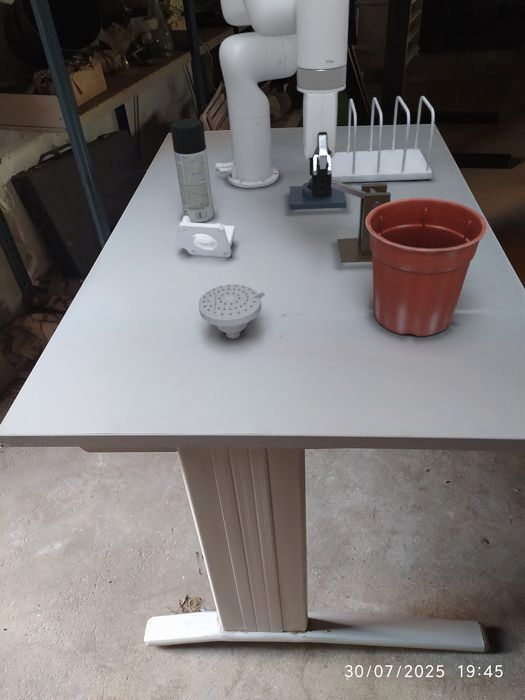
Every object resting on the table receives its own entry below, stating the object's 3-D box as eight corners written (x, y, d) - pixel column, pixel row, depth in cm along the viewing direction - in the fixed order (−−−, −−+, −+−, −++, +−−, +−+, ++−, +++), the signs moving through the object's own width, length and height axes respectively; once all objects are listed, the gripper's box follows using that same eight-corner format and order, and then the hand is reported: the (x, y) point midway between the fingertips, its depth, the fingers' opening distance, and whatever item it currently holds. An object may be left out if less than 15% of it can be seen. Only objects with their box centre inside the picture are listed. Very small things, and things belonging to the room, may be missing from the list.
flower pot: (352, 339, 82) (358, 244, 72) (365, 283, 94) (372, 194, 84) (466, 353, 78) (489, 254, 68) (465, 292, 90) (484, 200, 80)
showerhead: (267, 309, 76) (197, 316, 76) (269, 349, 81) (203, 356, 81) (261, 275, 84) (197, 281, 83) (264, 314, 88) (203, 319, 88)
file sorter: (418, 155, 141) (426, 91, 131) (431, 181, 127) (441, 111, 118) (321, 159, 143) (322, 96, 133) (324, 184, 129) (326, 116, 119)
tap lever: (311, 190, 91) (316, 177, 90) (310, 177, 96) (315, 164, 94) (381, 214, 94) (388, 202, 92) (377, 200, 98) (383, 188, 97)
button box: (290, 214, 117) (289, 196, 115) (289, 195, 125) (289, 178, 123) (345, 211, 117) (346, 194, 114) (341, 193, 125) (342, 176, 122)
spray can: (219, 213, 120) (209, 118, 107) (204, 226, 115) (192, 129, 103) (194, 209, 122) (181, 116, 110) (178, 221, 117) (162, 126, 105)
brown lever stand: (340, 267, 99) (343, 201, 91) (336, 244, 106) (339, 180, 98) (407, 265, 98) (415, 198, 90) (398, 242, 105) (406, 177, 97)
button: (309, 191, 117) (309, 183, 116) (308, 185, 120) (308, 177, 119) (325, 190, 117) (325, 183, 116) (324, 184, 120) (324, 176, 119)
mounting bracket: (176, 259, 108) (159, 224, 99) (184, 234, 111) (168, 197, 101) (233, 264, 105) (222, 228, 96) (240, 238, 108) (229, 201, 99)
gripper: (296, 66, 90) (297, 168, 101) (298, 93, 77) (299, 207, 87) (341, 64, 90) (337, 166, 100) (351, 90, 76) (346, 205, 87)
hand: (319, 185), depth 94 cm, fingers open, 9 cm apart
